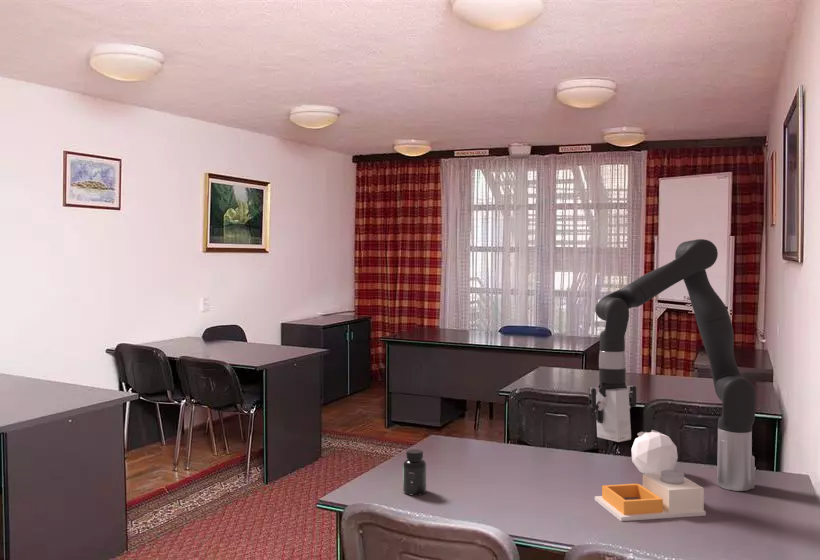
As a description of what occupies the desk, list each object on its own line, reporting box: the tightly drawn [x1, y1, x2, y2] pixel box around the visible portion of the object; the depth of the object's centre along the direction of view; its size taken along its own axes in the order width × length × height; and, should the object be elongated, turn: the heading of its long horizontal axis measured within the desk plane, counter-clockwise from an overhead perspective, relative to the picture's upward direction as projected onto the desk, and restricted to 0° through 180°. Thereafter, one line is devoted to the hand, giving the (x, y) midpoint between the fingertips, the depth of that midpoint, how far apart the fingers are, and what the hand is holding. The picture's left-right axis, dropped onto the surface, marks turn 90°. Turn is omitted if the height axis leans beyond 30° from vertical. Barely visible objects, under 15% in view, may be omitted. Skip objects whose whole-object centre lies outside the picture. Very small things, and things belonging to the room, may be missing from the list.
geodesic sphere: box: [630, 429, 679, 474], centre depth 217 cm, size 15×14×14 cm
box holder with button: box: [594, 470, 707, 522], centre depth 189 cm, size 24×16×9 cm, turn 99°
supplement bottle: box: [402, 448, 427, 496], centre depth 201 cm, size 7×7×12 cm
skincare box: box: [595, 388, 632, 443], centre depth 201 cm, size 8×6×15 cm
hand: (612, 422), depth 201 cm, fingers closed on skincare box, 7 cm apart
